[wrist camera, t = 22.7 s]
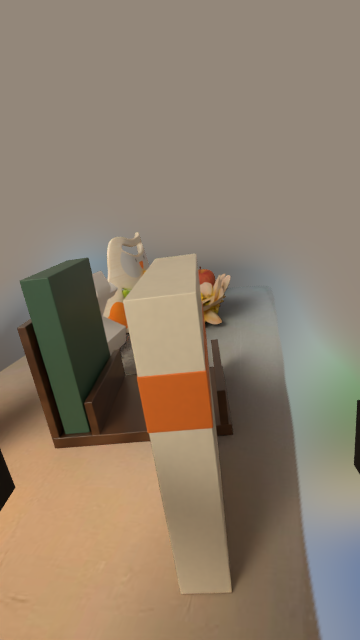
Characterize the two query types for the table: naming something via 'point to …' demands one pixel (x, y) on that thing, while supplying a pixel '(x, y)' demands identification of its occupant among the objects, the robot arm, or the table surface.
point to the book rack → (112, 400)
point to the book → (181, 418)
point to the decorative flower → (213, 298)
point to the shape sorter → (123, 274)
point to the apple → (206, 277)
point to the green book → (68, 335)
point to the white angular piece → (112, 328)
